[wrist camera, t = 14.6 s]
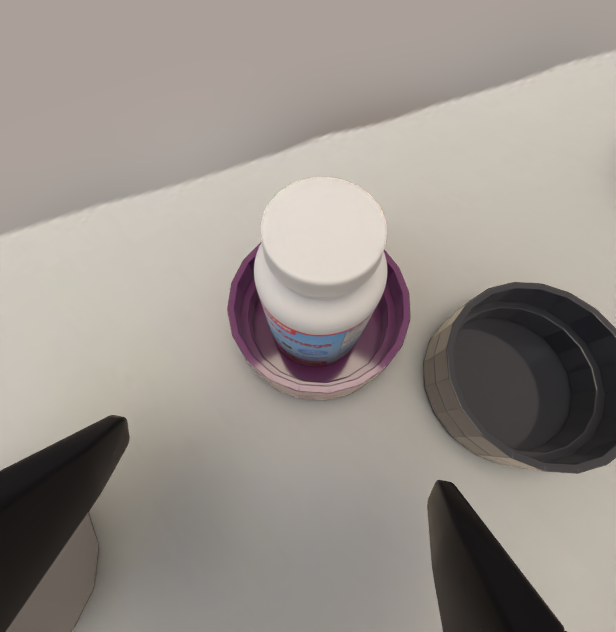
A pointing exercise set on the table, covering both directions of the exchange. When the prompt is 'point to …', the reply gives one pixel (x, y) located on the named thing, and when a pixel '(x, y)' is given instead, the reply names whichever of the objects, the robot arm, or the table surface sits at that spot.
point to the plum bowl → (327, 380)
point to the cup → (62, 586)
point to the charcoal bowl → (527, 379)
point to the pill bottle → (320, 267)
